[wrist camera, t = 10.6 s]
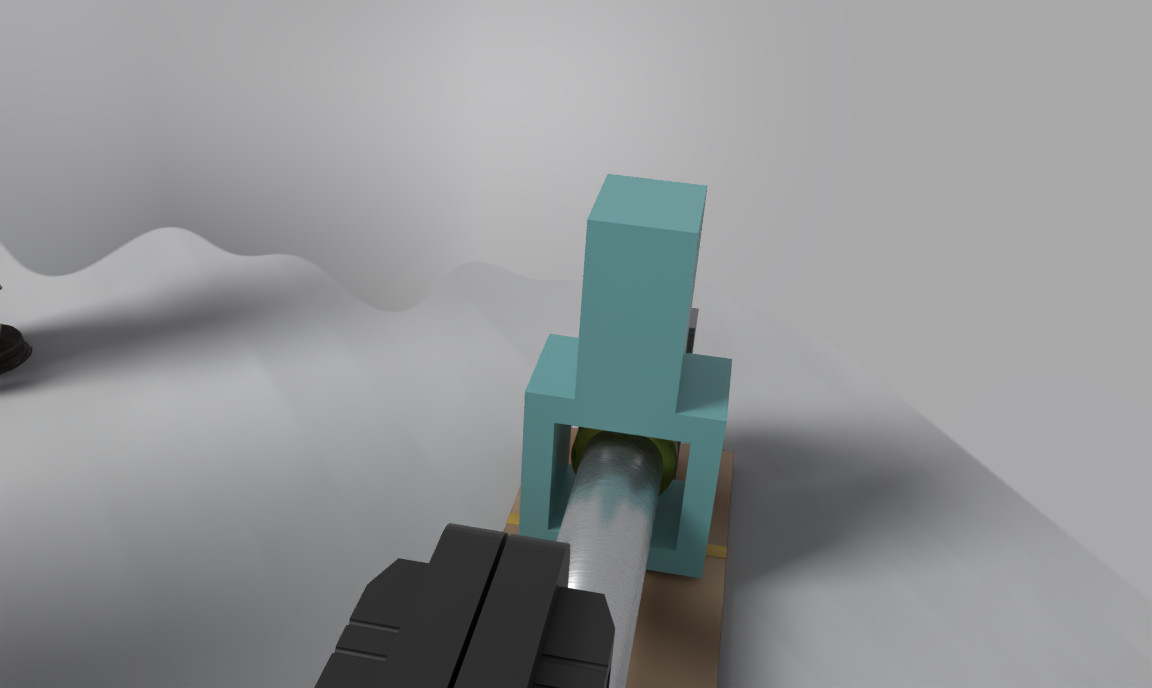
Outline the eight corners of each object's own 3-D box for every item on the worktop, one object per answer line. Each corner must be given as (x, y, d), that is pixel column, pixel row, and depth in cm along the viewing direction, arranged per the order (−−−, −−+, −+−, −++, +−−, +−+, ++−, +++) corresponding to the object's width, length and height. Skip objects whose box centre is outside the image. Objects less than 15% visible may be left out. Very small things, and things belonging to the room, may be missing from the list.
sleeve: (701, 578, 35) (755, 240, 29) (518, 548, 36) (533, 212, 30) (709, 507, 39) (757, 191, 33) (541, 481, 40) (558, 168, 34)
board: (698, 922, 26) (701, 906, 26) (388, 858, 27) (387, 843, 26) (732, 463, 43) (734, 451, 43) (543, 435, 44) (543, 422, 44)
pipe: (624, 858, 27) (650, 665, 23) (472, 828, 27) (476, 635, 24) (683, 458, 42) (703, 309, 39) (586, 443, 43) (598, 295, 39)
